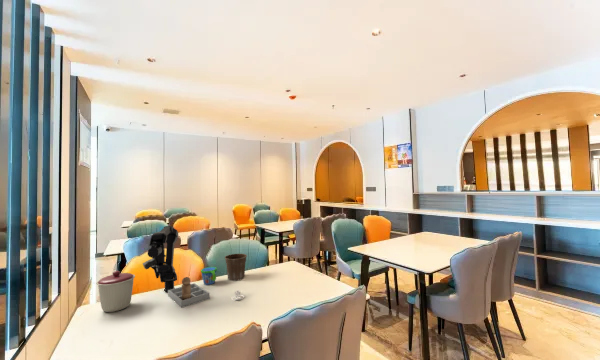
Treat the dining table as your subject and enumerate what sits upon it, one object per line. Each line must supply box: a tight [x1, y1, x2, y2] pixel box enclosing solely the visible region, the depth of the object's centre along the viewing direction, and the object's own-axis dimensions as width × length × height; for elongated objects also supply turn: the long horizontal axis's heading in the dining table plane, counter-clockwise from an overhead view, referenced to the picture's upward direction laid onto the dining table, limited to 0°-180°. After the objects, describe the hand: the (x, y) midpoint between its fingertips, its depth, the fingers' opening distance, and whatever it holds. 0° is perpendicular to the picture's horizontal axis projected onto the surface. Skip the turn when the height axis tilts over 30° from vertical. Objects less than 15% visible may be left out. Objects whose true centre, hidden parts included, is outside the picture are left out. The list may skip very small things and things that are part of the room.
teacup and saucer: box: [230, 290, 246, 301], centre depth 157 cm, size 9×8×4 cm
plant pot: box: [224, 253, 248, 281], centre depth 194 cm, size 16×16×16 cm
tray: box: [167, 282, 211, 309], centre depth 161 cm, size 24×16×4 cm
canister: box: [96, 270, 136, 313], centre depth 149 cm, size 18×18×21 cm
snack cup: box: [200, 266, 218, 286], centre depth 184 cm, size 16×10×10 cm
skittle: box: [181, 276, 192, 300], centre depth 153 cm, size 5×5×14 cm
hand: (159, 279), depth 156 cm, fingers open, 9 cm apart
